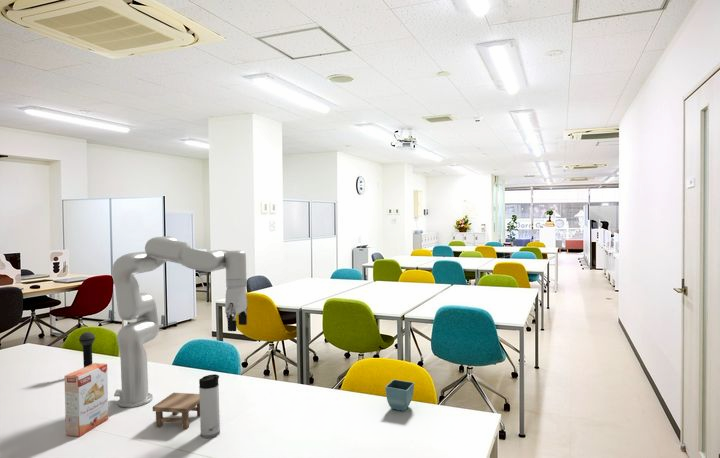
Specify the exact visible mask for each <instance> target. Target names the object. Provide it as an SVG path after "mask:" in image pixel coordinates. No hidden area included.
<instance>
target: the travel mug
mask: <svg viewBox="0 0 720 458" xmlns="http://www.w3.org/2000/svg"><path fill="white" fill-rule="evenodd" d="M219 378H220V375H219V374H216V373H215V374H208V375H205V376H203V377H202V378H199V381H198V382H199V383H198V384H199V385H198V386H199V388H198V389H199V392H198V394H199V395H200V417H199V419H200V420H199V421H200V428H199V429H200V437H201V438H203V439H212V438H215V437H217V436H218V435H220V433H221V425H220V424H221V423H220V422H221V421H220V417H221V416H220V386H219V385H220V384H219Z"/></svg>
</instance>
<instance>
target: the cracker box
mask: <svg viewBox="0 0 720 458" xmlns="http://www.w3.org/2000/svg"><path fill="white" fill-rule="evenodd" d="M108 378H109V377H108V364H107V363H98V362H93V363H92V364H91V365H89V366H87V367H84V366H83V367H82V368H80V369H78V370H75V371H73V372H69V373H68V374H66V375H64V404H65V405H64V407H65V408H64V411H65V412H64V413H65V436H70V437H81V436H83V435H85V434H87V433H88V432H90V431H91V430H93V429H94V428H96V427H97V426H99V425H101V424H103V423H104V422H107V420H109V390H108V389H109V388H108V384H109V381H108V380H109V379H108Z"/></svg>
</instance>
